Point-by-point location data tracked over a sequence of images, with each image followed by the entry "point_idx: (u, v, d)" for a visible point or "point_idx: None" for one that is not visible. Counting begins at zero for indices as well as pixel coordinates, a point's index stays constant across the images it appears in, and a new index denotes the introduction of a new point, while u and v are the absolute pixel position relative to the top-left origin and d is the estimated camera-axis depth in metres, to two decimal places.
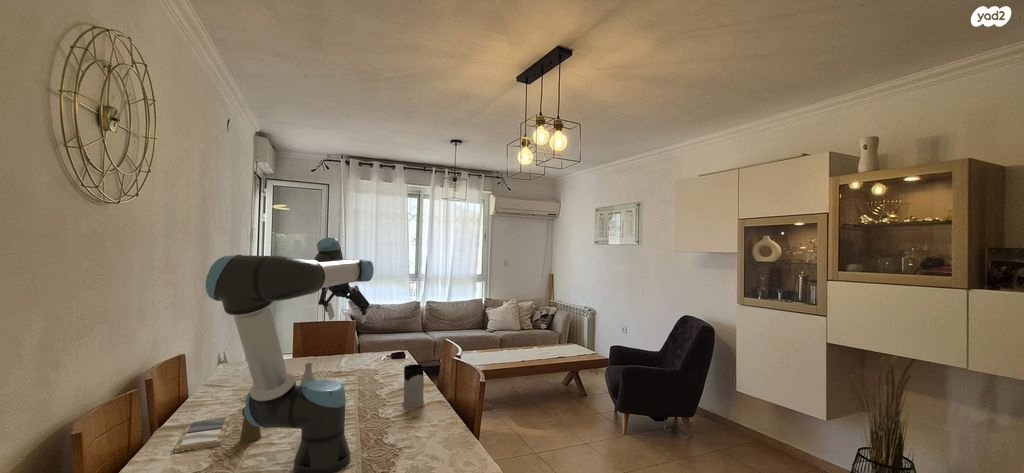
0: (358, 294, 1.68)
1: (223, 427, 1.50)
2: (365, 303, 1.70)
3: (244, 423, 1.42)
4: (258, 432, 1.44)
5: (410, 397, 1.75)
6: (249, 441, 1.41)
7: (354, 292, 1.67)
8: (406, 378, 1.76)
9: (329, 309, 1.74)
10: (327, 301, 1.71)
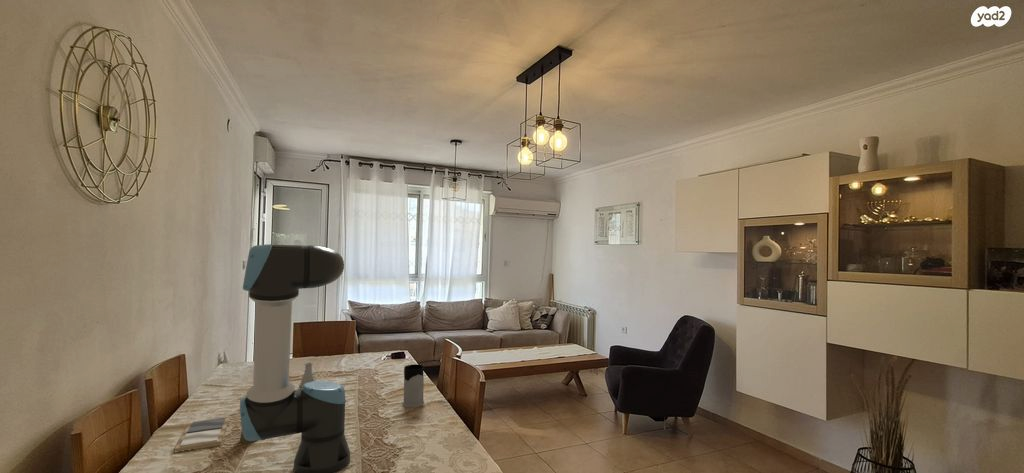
0: None
1: (223, 427, 1.50)
2: None
3: None
4: None
5: (410, 397, 1.75)
6: (249, 441, 1.41)
7: None
8: (406, 378, 1.76)
9: None
10: None
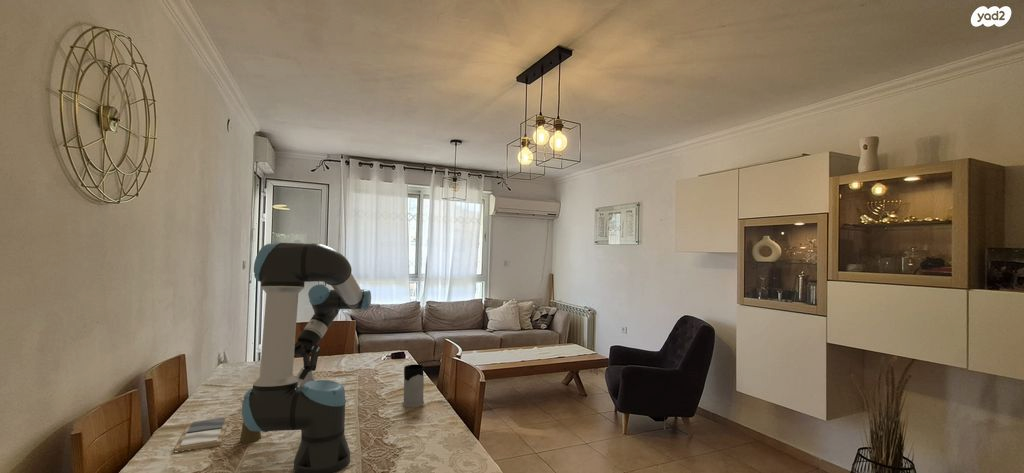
0: None
1: (223, 427, 1.50)
2: None
3: None
4: (258, 432, 1.44)
5: (410, 397, 1.75)
6: (249, 441, 1.41)
7: None
8: (406, 378, 1.76)
9: None
10: None
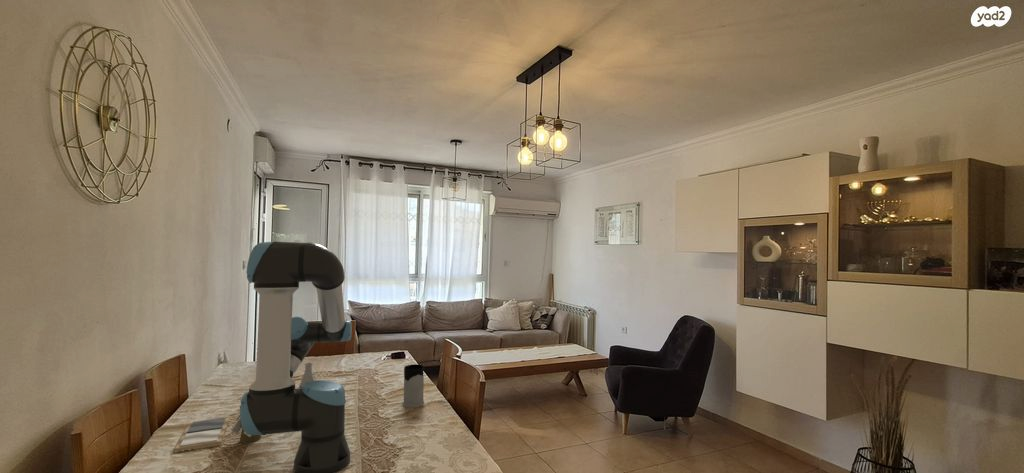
0: None
1: (223, 427, 1.50)
2: None
3: None
4: None
5: (410, 397, 1.75)
6: (249, 441, 1.41)
7: None
8: (406, 378, 1.76)
9: None
10: None
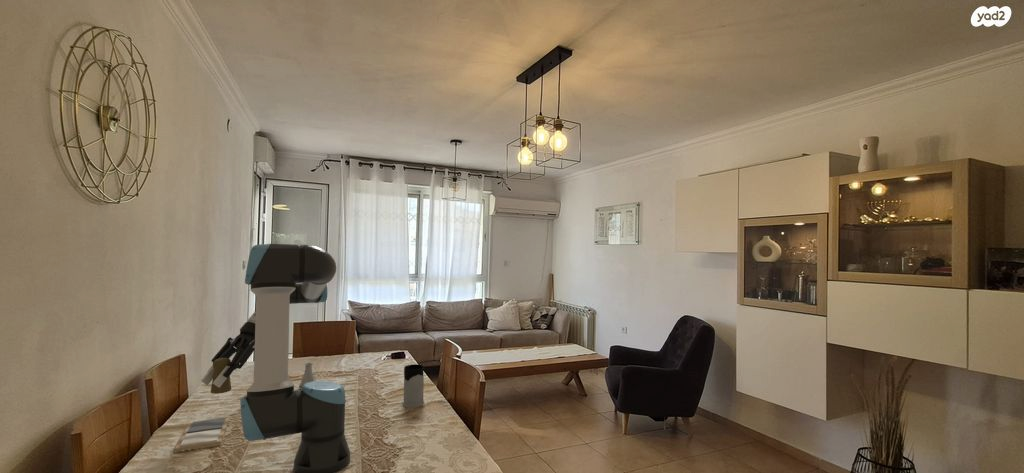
0: None
1: (223, 427, 1.50)
2: None
3: (214, 374, 1.49)
4: (228, 384, 1.50)
5: (410, 397, 1.75)
6: (219, 391, 1.48)
7: None
8: (406, 378, 1.76)
9: None
10: None
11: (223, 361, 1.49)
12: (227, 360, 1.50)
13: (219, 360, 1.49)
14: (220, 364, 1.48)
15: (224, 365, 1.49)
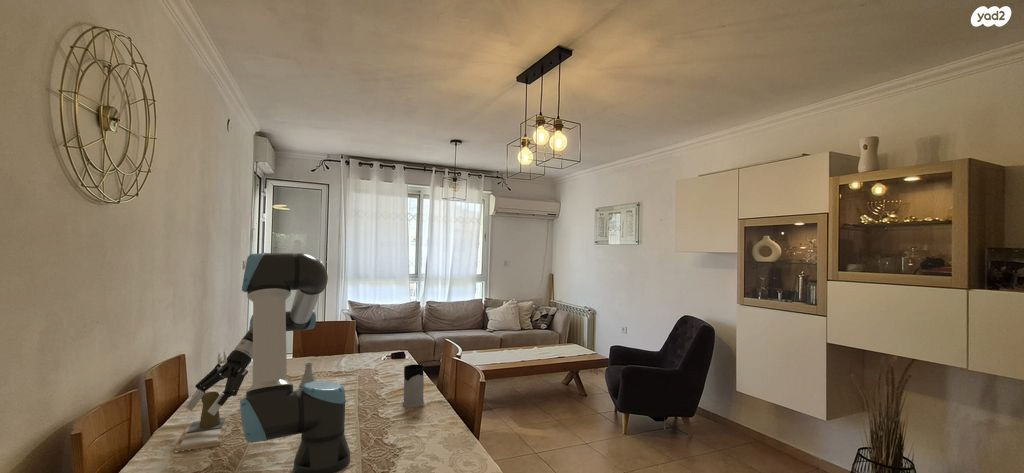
0: None
1: (223, 427, 1.50)
2: None
3: (203, 409, 1.50)
4: (217, 418, 1.51)
5: (410, 397, 1.75)
6: (208, 426, 1.49)
7: None
8: (406, 378, 1.76)
9: None
10: None
11: (212, 395, 1.50)
12: (216, 394, 1.51)
13: (208, 394, 1.50)
14: (209, 398, 1.49)
15: (213, 399, 1.50)
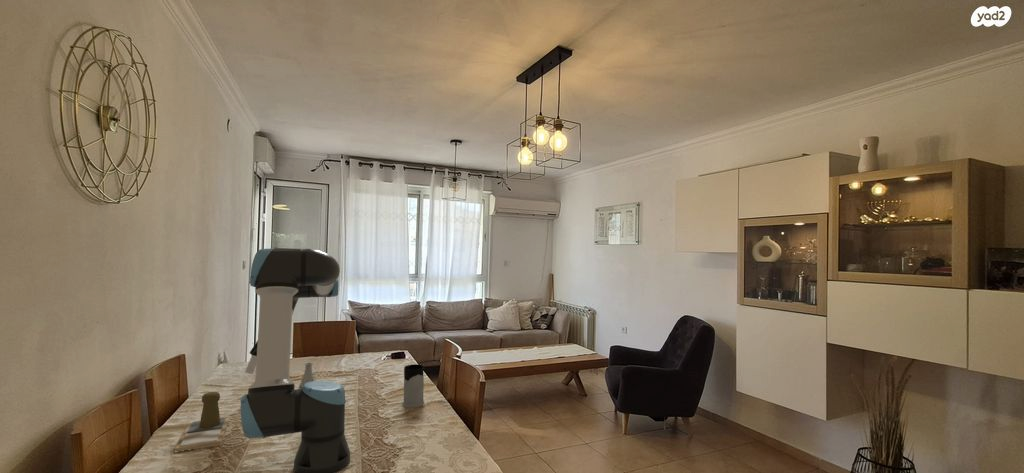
0: None
1: (223, 427, 1.50)
2: None
3: (203, 409, 1.50)
4: (217, 418, 1.51)
5: (410, 397, 1.75)
6: (208, 426, 1.49)
7: None
8: (406, 378, 1.76)
9: None
10: None
11: (212, 395, 1.50)
12: (216, 394, 1.51)
13: (208, 394, 1.50)
14: (209, 399, 1.49)
15: (213, 399, 1.50)
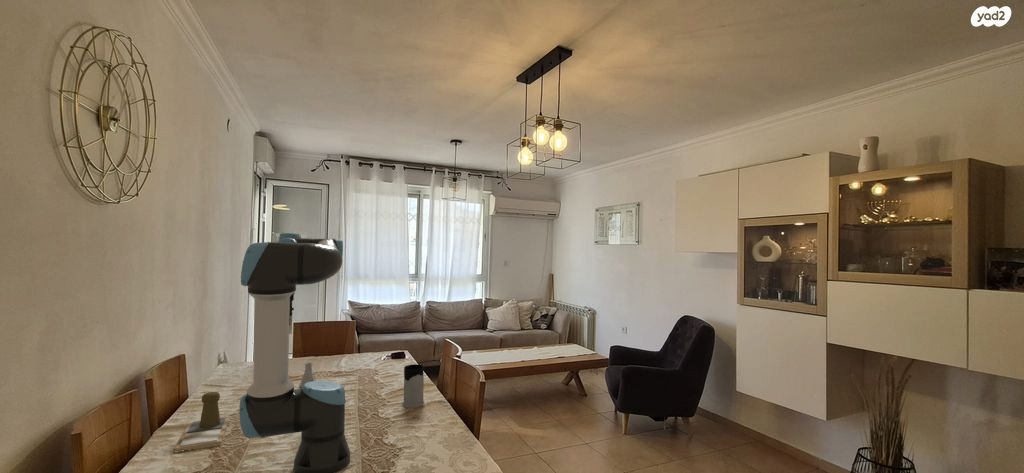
0: None
1: (223, 427, 1.50)
2: None
3: (203, 409, 1.50)
4: (217, 418, 1.51)
5: (410, 397, 1.75)
6: (208, 426, 1.49)
7: None
8: (406, 378, 1.76)
9: None
10: None
11: (212, 395, 1.50)
12: (216, 394, 1.51)
13: (208, 394, 1.50)
14: (209, 399, 1.49)
15: (213, 399, 1.50)
